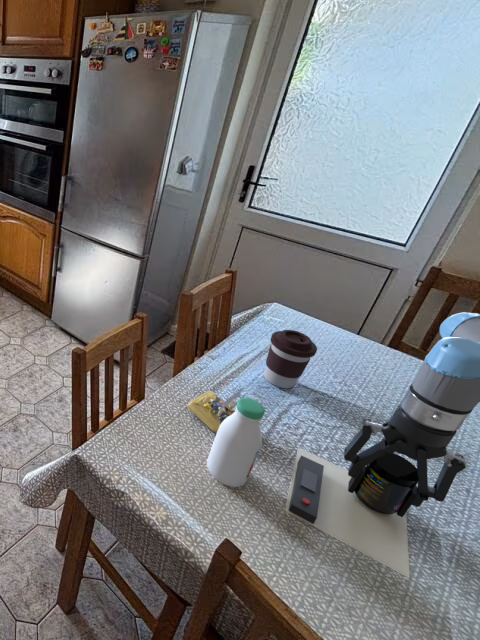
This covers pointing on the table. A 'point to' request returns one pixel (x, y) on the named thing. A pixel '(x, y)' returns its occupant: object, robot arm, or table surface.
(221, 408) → the yellow snack bag
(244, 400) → the milk bottle
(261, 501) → the table surface
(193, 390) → the table surface
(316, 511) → the remote
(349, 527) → the scale
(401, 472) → the supplement container
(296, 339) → the coffee cup
